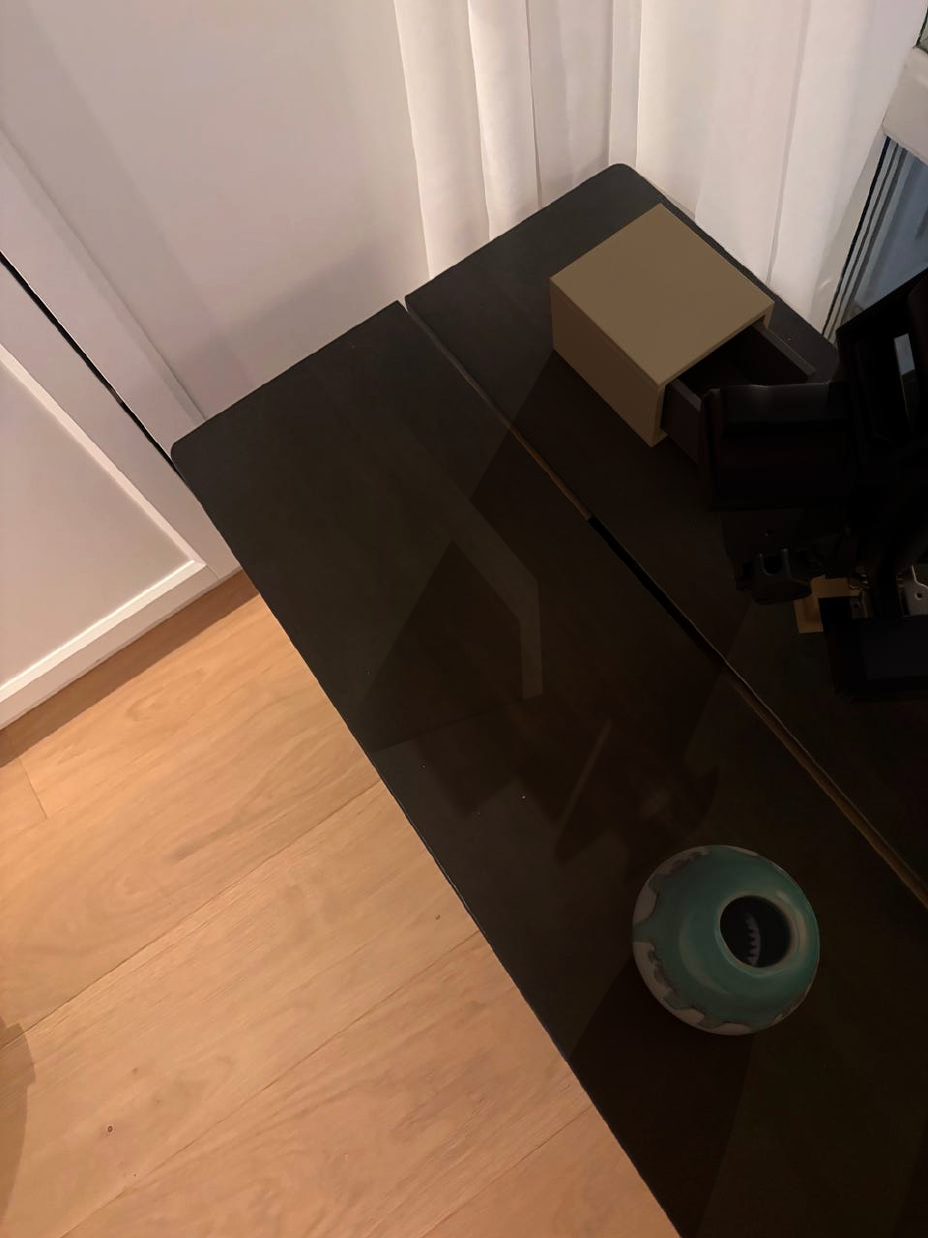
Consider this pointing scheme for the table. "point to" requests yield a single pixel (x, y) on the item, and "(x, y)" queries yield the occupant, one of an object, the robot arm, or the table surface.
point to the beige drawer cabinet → (648, 313)
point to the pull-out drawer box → (729, 379)
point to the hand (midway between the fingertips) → (832, 592)
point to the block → (809, 606)
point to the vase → (725, 939)
